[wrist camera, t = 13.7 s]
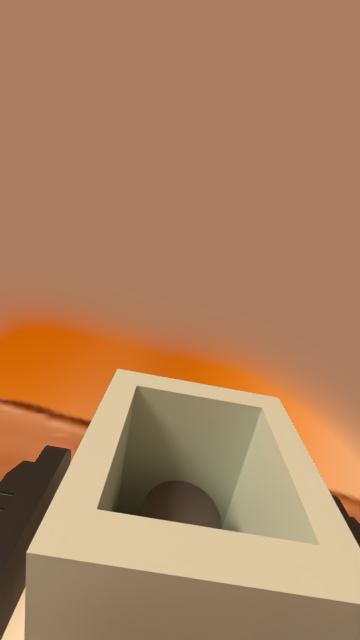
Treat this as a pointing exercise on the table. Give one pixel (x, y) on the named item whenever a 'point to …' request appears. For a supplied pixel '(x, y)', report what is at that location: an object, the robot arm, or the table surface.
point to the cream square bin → (192, 527)
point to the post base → (160, 503)
